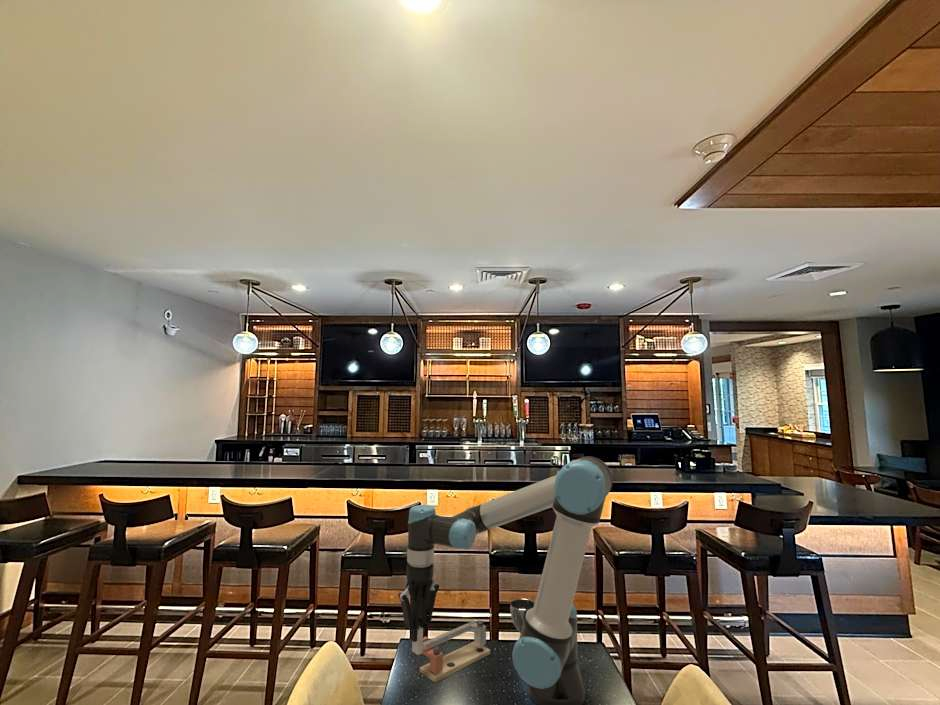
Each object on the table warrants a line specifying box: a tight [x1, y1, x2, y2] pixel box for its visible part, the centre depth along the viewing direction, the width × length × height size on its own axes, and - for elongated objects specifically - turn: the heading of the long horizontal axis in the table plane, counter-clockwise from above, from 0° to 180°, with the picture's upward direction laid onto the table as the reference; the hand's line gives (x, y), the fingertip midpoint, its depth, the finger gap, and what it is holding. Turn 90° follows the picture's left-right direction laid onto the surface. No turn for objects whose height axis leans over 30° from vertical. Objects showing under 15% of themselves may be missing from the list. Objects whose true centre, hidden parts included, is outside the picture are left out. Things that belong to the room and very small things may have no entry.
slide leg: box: [422, 636, 444, 674], centre depth 131 cm, size 8×3×6 cm, turn 43°
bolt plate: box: [419, 641, 491, 683], centre depth 136 cm, size 7×22×1 cm, turn 134°
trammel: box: [422, 620, 487, 651], centre depth 136 cm, size 6×20×8 cm, turn 134°
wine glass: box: [509, 598, 535, 635], centre depth 141 cm, size 8×8×15 cm
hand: (417, 652), depth 125 cm, fingers closed
